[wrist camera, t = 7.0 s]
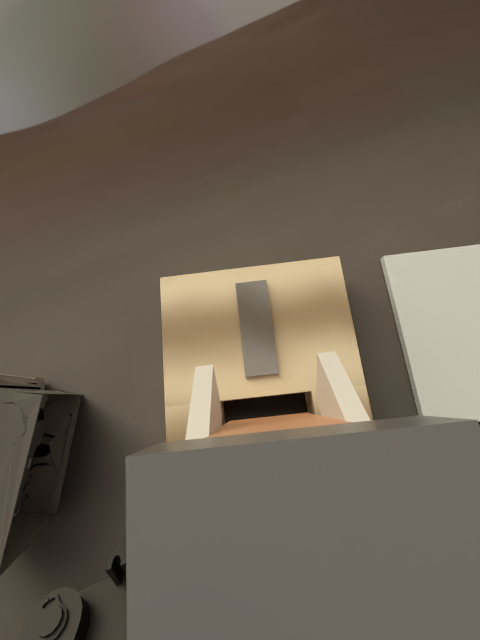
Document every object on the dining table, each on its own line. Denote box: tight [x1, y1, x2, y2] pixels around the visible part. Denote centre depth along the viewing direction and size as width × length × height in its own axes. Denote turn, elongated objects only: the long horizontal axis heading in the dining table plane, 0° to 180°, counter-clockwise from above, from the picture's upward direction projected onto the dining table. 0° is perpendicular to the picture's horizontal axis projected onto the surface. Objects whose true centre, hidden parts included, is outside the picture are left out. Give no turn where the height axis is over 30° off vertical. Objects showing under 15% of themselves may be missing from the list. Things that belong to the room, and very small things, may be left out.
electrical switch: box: [0, 374, 81, 575], centre depth 17 cm, size 9×5×9 cm, turn 175°
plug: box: [125, 413, 480, 640], centre depth 11 cm, size 5×5×14 cm
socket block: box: [160, 256, 373, 442], centre depth 20 cm, size 16×12×3 cm
